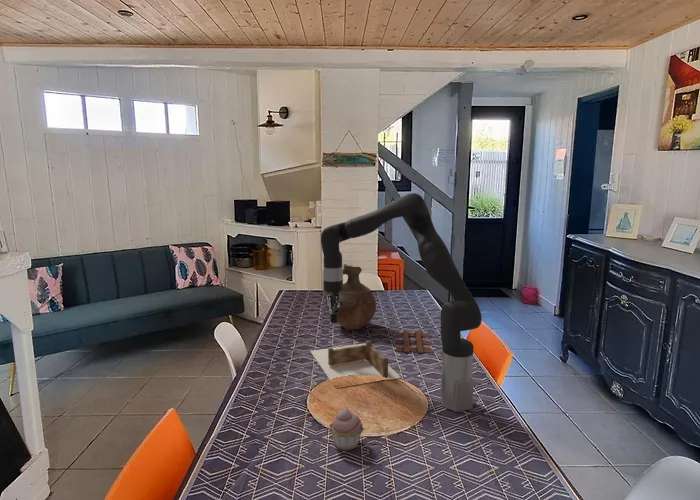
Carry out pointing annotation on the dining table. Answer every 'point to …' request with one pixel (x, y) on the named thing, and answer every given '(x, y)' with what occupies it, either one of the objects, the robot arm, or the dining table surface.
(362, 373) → the card
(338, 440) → the cupcake
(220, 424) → the dining table surface
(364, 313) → the jug
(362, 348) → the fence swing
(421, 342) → the decorative fence
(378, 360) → the fence fixed
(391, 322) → the dining table surface
